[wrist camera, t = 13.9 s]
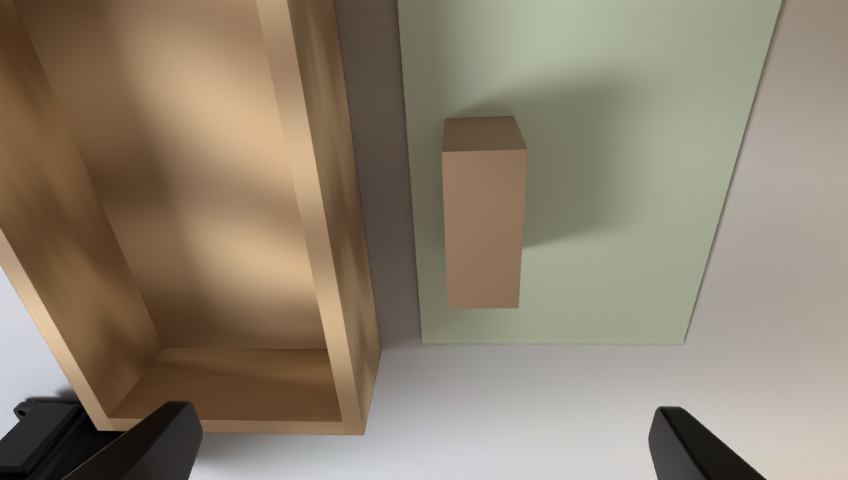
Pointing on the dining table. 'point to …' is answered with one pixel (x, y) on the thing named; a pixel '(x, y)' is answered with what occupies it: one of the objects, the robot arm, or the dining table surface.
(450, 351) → the dining table surface
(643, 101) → the lid
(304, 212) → the tan wooden box
